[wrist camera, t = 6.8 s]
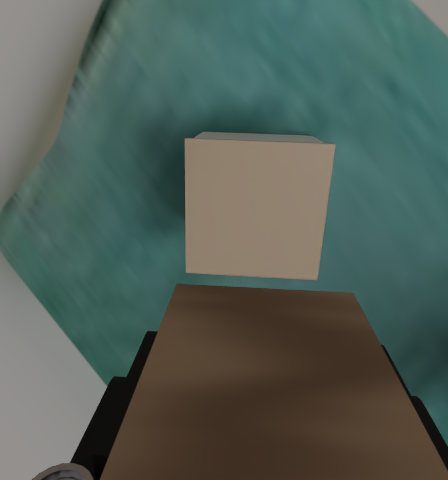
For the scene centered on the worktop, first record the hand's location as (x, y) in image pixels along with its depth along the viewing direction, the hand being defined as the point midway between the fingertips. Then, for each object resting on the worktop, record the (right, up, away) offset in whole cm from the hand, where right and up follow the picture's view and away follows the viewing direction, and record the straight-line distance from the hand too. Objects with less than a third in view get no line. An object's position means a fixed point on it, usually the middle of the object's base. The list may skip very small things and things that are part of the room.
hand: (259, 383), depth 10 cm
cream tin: (+2, +9, +22) cm, 24 cm away
